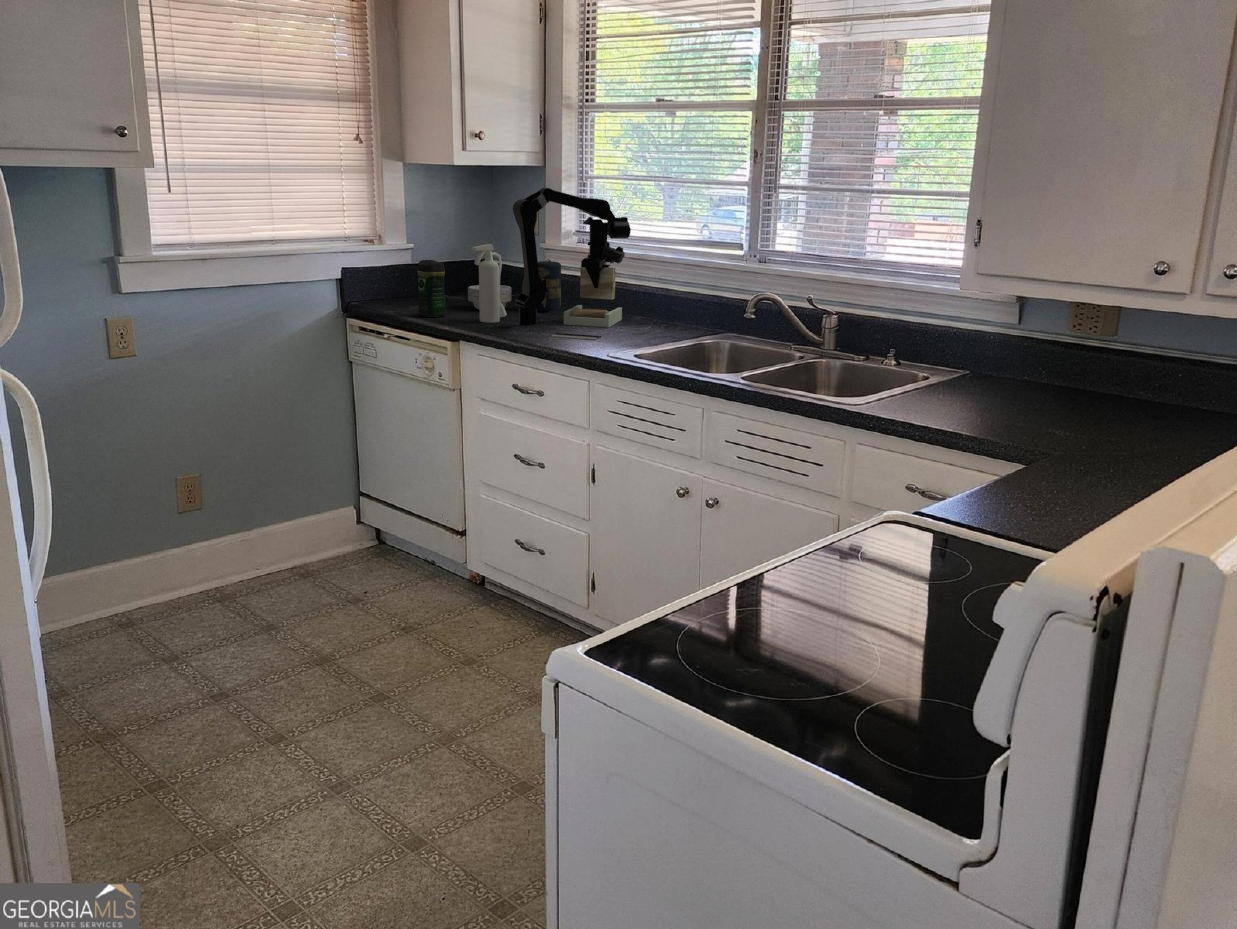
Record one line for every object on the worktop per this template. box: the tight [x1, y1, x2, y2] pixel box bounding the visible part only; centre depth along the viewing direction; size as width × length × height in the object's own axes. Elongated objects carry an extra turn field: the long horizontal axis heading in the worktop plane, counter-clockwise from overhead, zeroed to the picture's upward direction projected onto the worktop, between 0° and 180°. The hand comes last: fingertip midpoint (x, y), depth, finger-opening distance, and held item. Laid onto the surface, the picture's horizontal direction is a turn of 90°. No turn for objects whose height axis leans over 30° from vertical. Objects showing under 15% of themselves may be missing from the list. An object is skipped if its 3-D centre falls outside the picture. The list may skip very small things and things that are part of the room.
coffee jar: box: [416, 259, 447, 318], centre depth 353 cm, size 10×8×19 cm
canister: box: [537, 258, 562, 312], centre depth 370 cm, size 10×10×18 cm
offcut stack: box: [572, 308, 608, 319], centre depth 341 cm, size 4×11×4 cm, turn 75°
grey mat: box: [551, 332, 603, 341], centre depth 328 cm, size 14×14×1 cm
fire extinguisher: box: [471, 243, 507, 324], centre depth 345 cm, size 7×12×25 cm, turn 130°
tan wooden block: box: [579, 266, 616, 301], centre depth 346 cm, size 3×11×10 cm, turn 75°
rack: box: [563, 304, 623, 328], centre depth 345 cm, size 16×15×5 cm
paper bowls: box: [467, 284, 512, 311], centre depth 373 cm, size 15×15×8 cm
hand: (597, 287), depth 346 cm, fingers closed on tan wooden block, 3 cm apart
